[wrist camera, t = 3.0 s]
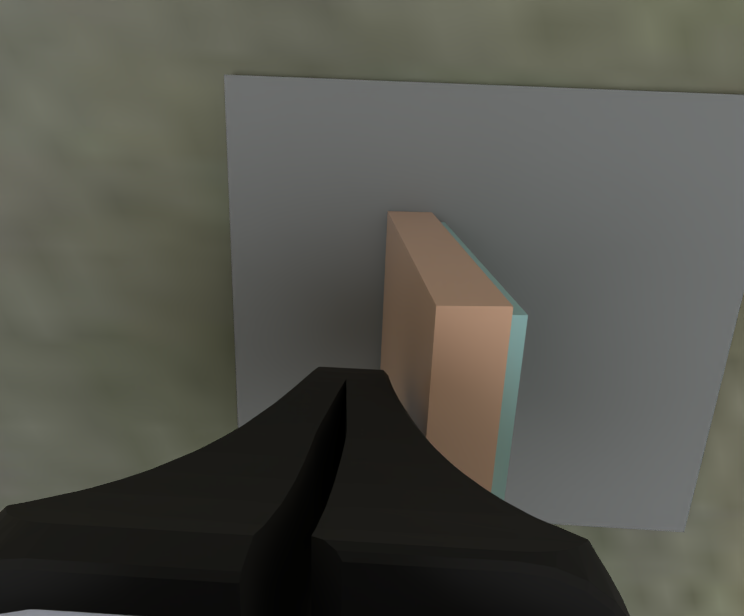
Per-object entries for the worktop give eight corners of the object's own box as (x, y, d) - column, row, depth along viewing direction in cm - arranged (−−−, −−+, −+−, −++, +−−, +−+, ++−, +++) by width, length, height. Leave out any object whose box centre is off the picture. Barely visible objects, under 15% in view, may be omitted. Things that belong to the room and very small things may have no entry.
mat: (675, 518, 19) (684, 532, 18) (245, 492, 19) (241, 504, 18) (777, 96, 15) (792, 96, 14) (230, 75, 15) (224, 74, 14)
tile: (427, 425, 17) (491, 633, 11) (377, 425, 17) (411, 635, 11) (444, 212, 15) (534, 307, 9) (387, 211, 15) (436, 305, 9)
